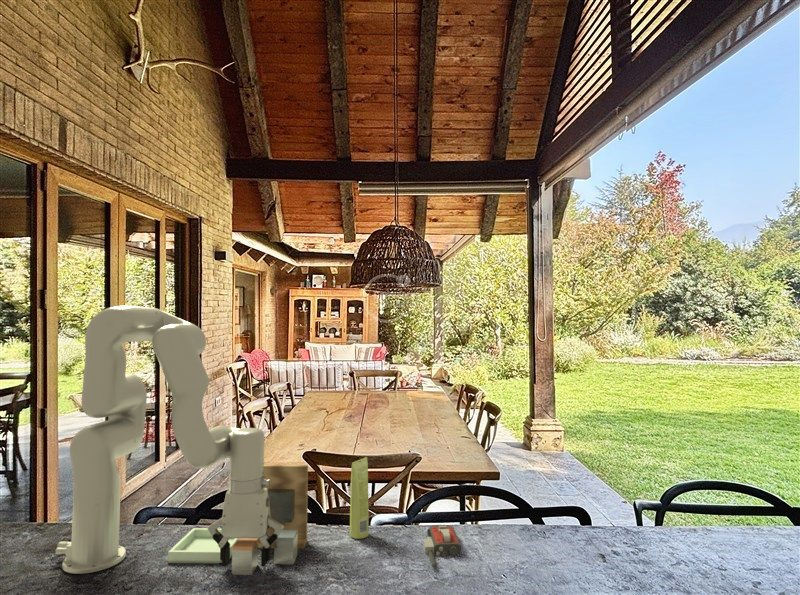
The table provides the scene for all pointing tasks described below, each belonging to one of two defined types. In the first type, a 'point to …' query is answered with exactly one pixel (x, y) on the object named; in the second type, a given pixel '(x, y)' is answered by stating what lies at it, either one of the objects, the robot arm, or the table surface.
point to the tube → (359, 500)
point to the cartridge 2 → (286, 547)
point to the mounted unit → (288, 499)
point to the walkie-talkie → (441, 542)
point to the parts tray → (198, 548)
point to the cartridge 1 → (245, 556)
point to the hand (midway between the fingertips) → (245, 563)
